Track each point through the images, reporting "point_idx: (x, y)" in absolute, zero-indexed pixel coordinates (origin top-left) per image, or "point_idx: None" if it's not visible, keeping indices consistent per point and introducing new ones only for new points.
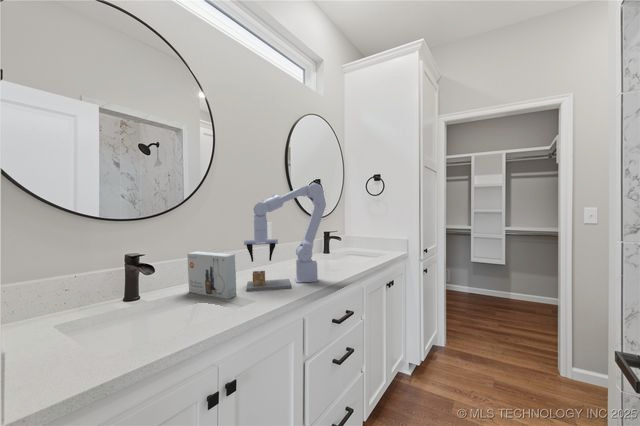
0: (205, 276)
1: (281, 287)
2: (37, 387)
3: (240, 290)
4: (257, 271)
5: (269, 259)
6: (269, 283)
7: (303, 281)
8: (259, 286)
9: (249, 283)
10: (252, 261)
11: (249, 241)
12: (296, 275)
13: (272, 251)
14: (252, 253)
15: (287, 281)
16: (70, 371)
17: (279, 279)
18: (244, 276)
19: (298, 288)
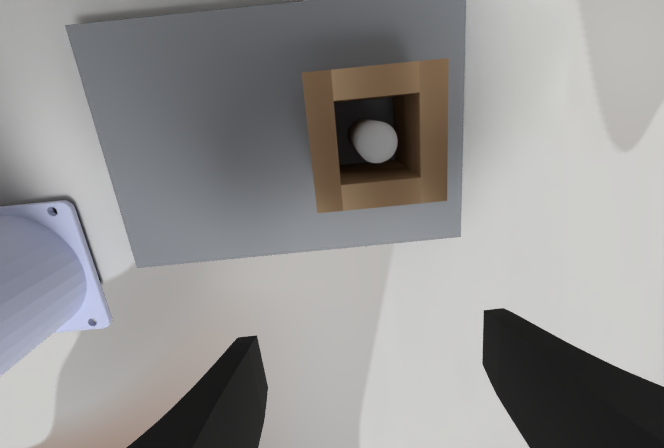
0: None
1: (162, 19)
2: None
3: (503, 44)
4: (397, 183)
5: (254, 354)
6: (277, 137)
7: (13, 206)
8: (354, 39)
9: None
10: (496, 311)
11: None
12: (59, 285)
13: (138, 443)
14: (578, 380)
15: (133, 182)
16: None
17: (212, 260)
18: (481, 440)
19: (22, 20)
